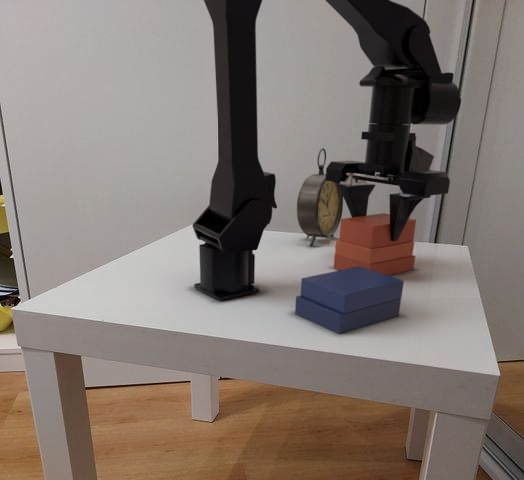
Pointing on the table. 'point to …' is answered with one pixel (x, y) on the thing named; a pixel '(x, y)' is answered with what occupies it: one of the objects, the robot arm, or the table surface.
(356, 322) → the navy stack
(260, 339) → the table surface
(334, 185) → the alarm clock
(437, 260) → the table surface
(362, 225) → the rust book
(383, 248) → the rust stack
